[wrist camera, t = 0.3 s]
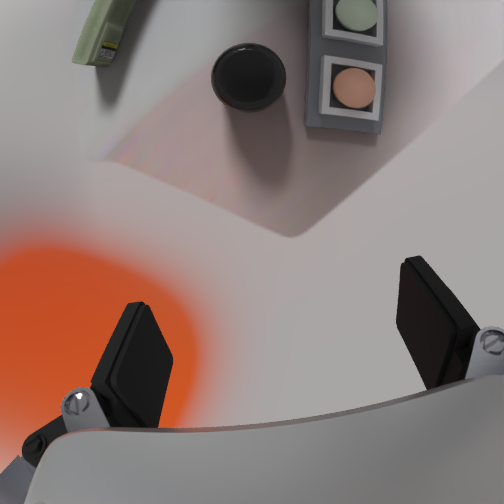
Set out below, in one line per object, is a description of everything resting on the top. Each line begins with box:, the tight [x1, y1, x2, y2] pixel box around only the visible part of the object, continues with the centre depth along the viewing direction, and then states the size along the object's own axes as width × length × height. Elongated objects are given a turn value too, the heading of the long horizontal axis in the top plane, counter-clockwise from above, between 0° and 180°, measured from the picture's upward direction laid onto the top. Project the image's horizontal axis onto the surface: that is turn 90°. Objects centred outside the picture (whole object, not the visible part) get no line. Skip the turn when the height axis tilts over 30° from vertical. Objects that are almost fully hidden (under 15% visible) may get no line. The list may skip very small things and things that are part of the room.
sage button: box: [334, 0, 378, 32], centre depth 25 cm, size 4×4×2 cm
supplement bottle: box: [211, 43, 286, 112], centre depth 27 cm, size 7×7×12 cm
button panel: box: [304, 0, 387, 134], centre depth 27 cm, size 28×9×4 cm, turn 178°
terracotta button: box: [332, 68, 376, 108], centre depth 29 cm, size 4×4×2 cm
